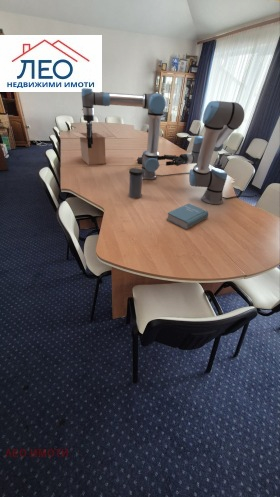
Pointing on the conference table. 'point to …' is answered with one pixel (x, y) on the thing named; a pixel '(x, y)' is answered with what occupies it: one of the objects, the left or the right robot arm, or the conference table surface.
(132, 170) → the lid
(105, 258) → the conference table surface
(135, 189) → the jar
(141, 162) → the laser sight
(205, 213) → the book
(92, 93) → the left robot arm
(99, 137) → the box
